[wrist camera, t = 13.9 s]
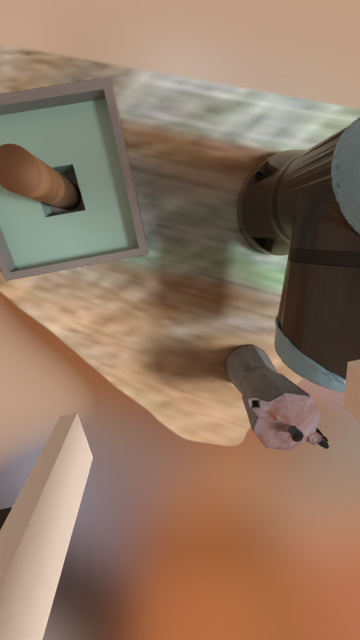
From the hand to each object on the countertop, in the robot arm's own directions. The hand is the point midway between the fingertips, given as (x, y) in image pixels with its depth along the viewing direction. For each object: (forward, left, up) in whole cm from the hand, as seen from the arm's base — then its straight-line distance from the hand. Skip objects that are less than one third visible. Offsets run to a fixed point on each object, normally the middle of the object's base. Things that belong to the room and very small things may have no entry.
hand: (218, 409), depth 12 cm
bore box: (+13, -16, -32) cm, 38 cm away
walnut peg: (+13, -16, -31) cm, 38 cm away
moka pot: (-12, +19, -33) cm, 40 cm away
